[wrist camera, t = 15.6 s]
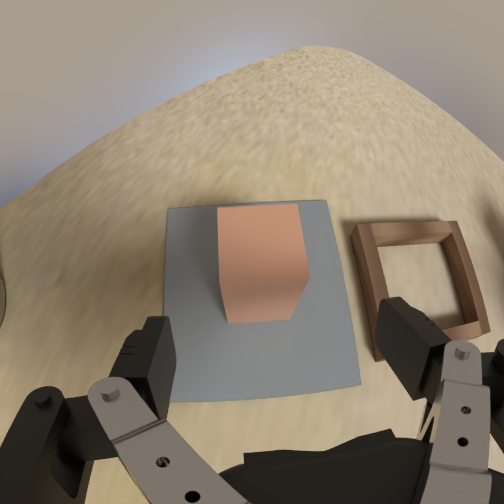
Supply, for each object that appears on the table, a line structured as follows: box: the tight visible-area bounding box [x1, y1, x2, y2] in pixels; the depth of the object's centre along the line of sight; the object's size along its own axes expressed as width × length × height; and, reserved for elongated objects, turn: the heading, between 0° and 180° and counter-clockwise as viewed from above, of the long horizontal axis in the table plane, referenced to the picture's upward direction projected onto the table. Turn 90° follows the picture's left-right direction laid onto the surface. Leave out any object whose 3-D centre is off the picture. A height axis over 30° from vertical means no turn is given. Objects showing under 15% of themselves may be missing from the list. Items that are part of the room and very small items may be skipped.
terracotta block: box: [217, 204, 310, 324], centre depth 20 cm, size 4×4×8 cm
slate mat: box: [164, 200, 361, 402], centre depth 24 cm, size 14×16×1 cm
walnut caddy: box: [350, 221, 491, 362], centre depth 24 cm, size 11×11×2 cm
